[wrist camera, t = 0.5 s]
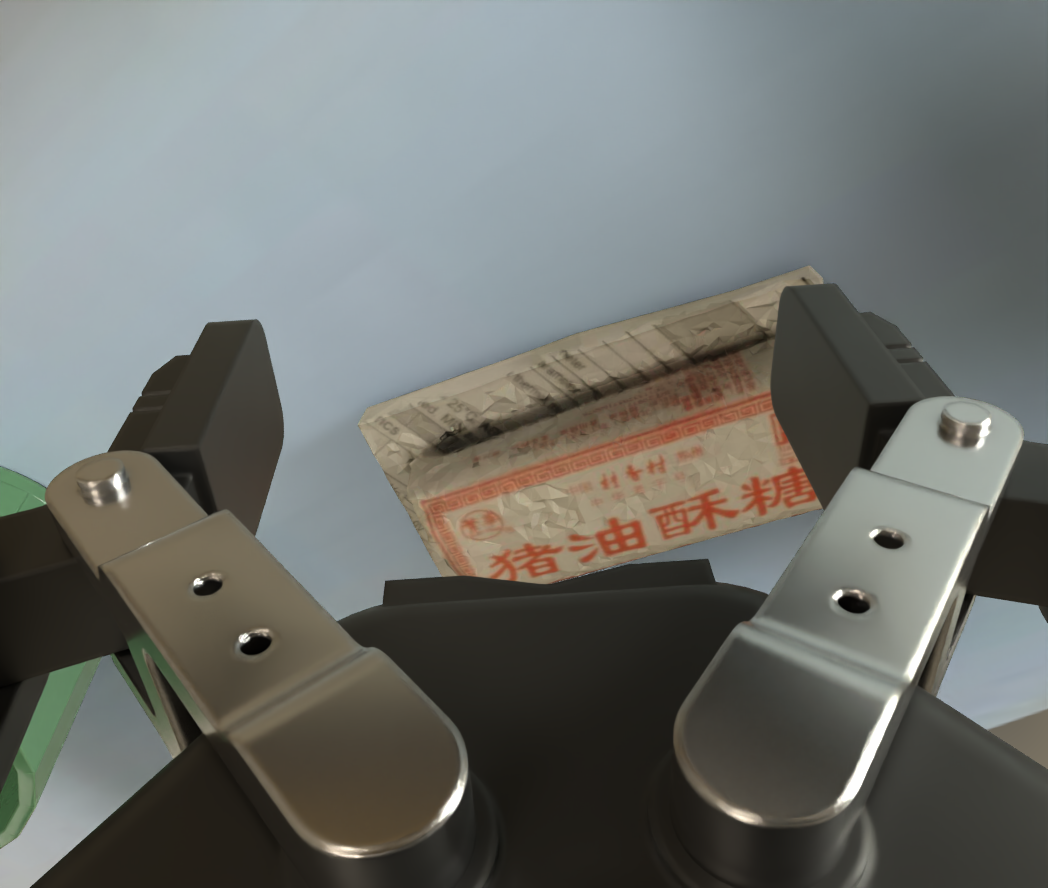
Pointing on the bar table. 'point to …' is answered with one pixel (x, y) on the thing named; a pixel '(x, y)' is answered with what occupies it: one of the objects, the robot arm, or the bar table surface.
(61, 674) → the cup
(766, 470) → the packaged product
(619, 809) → the robot arm
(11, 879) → the bar table surface
